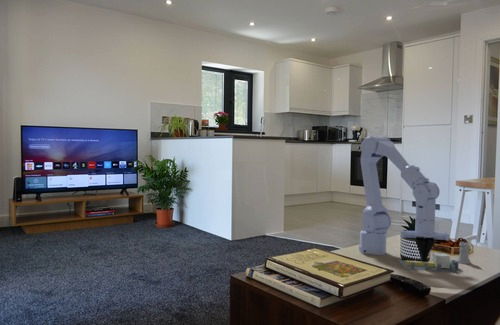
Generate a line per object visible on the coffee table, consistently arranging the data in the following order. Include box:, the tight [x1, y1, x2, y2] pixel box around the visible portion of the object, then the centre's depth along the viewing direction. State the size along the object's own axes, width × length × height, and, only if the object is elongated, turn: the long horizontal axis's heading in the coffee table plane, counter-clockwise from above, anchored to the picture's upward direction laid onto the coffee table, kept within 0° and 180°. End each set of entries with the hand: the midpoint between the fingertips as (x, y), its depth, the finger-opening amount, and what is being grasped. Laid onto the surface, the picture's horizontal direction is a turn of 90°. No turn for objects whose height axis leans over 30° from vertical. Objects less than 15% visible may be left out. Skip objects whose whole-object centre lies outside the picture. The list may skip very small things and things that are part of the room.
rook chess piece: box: [456, 241, 472, 265], centre depth 127 cm, size 4×4×8 cm
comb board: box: [397, 259, 463, 274], centre depth 121 cm, size 17×10×3 cm, turn 80°
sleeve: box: [432, 252, 451, 268], centre depth 121 cm, size 4×4×4 cm
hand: (423, 260), depth 122 cm, fingers closed
